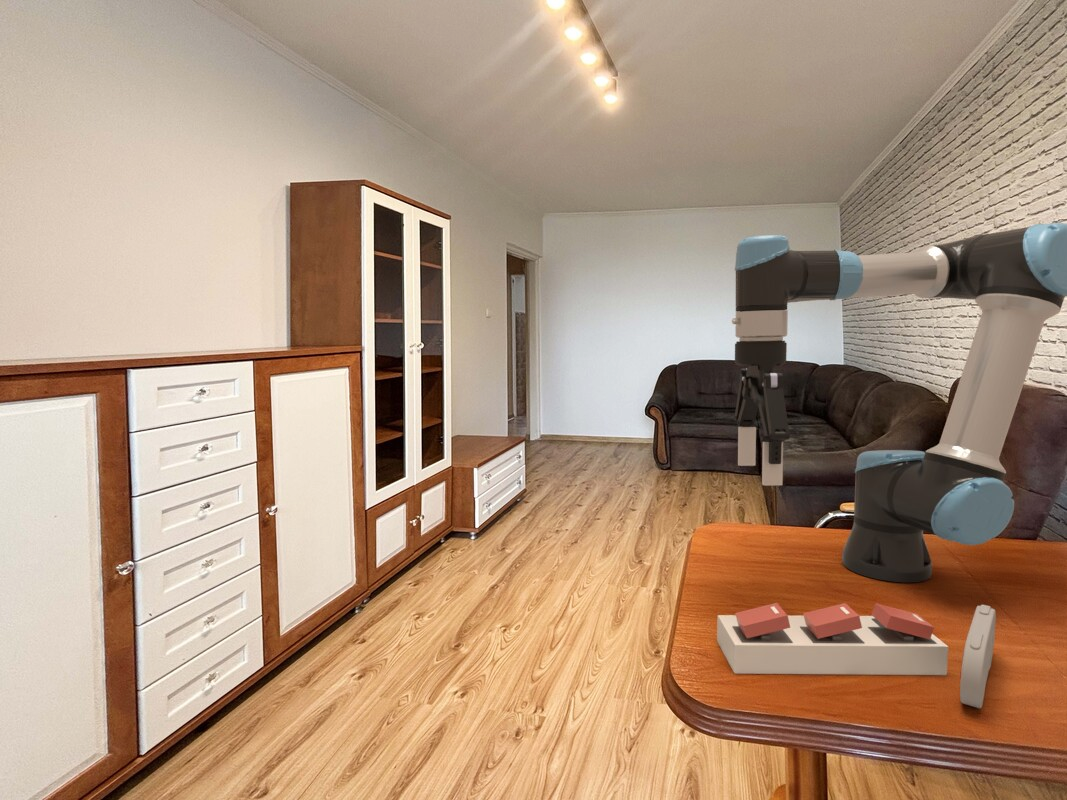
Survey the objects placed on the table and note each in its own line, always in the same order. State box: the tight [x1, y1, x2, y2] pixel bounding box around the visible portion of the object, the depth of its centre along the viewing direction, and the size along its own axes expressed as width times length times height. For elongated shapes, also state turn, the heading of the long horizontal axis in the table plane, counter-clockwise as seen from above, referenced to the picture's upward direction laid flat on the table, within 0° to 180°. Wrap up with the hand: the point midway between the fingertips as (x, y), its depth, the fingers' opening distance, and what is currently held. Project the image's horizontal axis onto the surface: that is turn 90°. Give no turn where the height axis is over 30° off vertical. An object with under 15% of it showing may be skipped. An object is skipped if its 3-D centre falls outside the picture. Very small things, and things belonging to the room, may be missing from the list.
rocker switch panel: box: [716, 614, 949, 676], centre depth 88 cm, size 28×9×5 cm, turn 88°
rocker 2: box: [802, 602, 862, 639], centre depth 86 cm, size 6×4×2 cm, turn 87°
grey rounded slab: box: [959, 604, 997, 709], centre depth 81 cm, size 20×2×8 cm, turn 140°
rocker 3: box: [871, 602, 935, 639], centre depth 86 cm, size 6×4×2 cm, turn 90°
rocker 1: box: [734, 602, 790, 638], centre depth 86 cm, size 6×4×2 cm, turn 87°
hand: (758, 474), depth 99 cm, fingers open, 13 cm apart
